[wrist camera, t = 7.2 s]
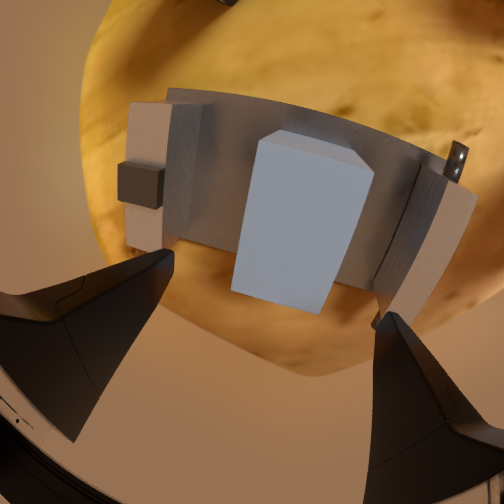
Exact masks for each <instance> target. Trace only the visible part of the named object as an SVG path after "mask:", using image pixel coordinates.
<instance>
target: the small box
mask: <svg viewBox="0 0 504 504" xmlns="http://www.w3.org/2000/svg"><path fill="white" fill-rule="evenodd" d="M216 1H218V2H221V3H225V4H227V5H229V6H232V5H233V4H234V3H235V2H236V1H237V0H216Z"/></svg>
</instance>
